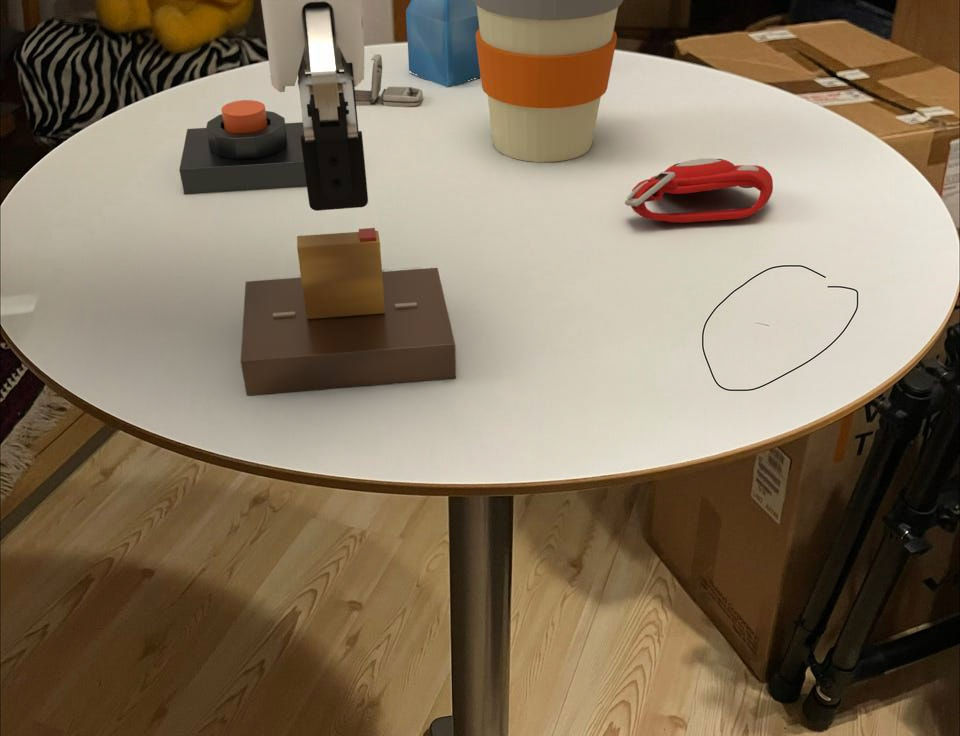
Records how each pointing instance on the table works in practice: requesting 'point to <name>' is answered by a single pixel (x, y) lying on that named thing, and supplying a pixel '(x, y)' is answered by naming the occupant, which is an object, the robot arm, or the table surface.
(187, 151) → the dark grey button base
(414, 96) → the strap clip
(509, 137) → the reusable coffee cup
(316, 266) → the thumb turn
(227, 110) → the bell button
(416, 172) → the table surface
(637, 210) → the tracker holder
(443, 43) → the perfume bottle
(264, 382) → the plate
